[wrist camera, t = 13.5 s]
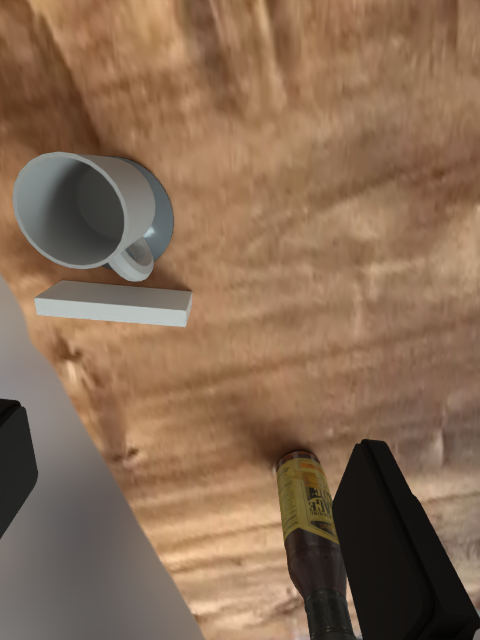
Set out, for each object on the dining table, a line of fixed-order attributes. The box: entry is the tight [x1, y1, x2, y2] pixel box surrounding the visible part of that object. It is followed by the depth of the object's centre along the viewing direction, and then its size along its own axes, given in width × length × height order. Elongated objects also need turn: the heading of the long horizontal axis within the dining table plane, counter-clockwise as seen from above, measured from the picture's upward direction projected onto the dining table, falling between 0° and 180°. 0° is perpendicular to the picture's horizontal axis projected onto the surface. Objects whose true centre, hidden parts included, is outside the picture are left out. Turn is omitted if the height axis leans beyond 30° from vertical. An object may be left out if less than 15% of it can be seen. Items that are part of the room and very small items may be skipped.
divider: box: [34, 280, 192, 327], centre depth 31 cm, size 2×13×5 cm, turn 84°
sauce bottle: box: [276, 451, 357, 640], centre depth 35 cm, size 6×6×20 cm
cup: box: [12, 152, 155, 282], centre depth 26 cm, size 7×10×9 cm
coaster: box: [101, 156, 174, 270], centre depth 30 cm, size 10×10×1 cm
